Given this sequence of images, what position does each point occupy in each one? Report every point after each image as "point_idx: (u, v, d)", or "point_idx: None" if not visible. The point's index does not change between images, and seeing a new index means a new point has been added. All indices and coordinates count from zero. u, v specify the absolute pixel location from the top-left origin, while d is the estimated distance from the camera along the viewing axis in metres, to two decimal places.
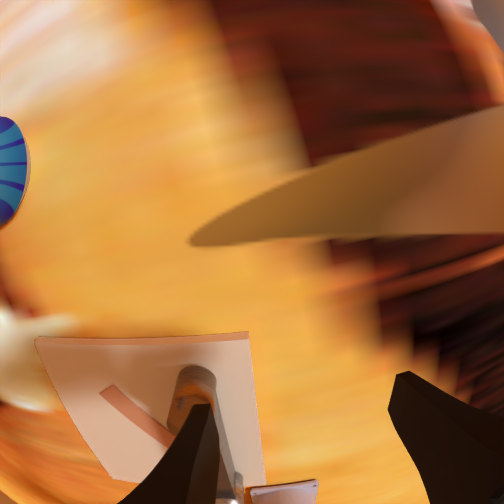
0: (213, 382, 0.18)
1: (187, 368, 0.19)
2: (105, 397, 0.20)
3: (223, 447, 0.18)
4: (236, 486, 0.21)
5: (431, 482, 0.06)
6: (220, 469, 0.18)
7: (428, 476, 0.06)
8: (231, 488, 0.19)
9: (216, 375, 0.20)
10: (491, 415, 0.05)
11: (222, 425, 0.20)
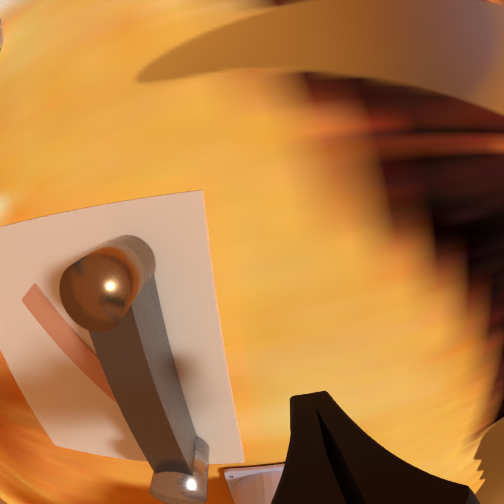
0: (147, 255, 0.13)
1: (116, 238, 0.13)
2: (27, 304, 0.14)
3: (162, 375, 0.13)
4: (195, 457, 0.15)
5: None
6: (157, 413, 0.12)
7: None
8: (181, 454, 0.13)
9: (157, 255, 0.14)
10: (396, 460, 0.05)
11: (166, 344, 0.15)
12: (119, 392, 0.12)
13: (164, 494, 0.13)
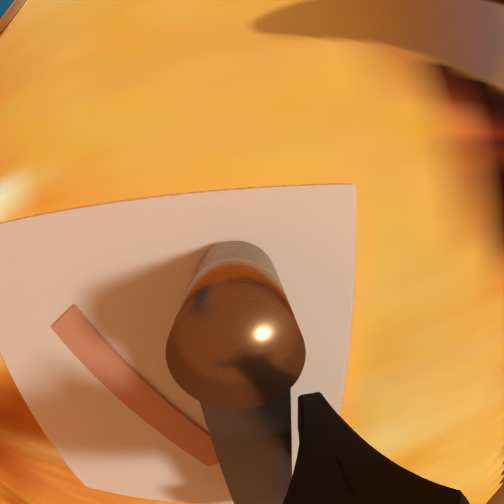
0: None
1: (218, 245, 0.09)
2: (60, 334, 0.10)
3: None
4: None
5: None
6: (280, 478, 0.08)
7: None
8: None
9: (286, 270, 0.10)
10: (388, 462, 0.05)
11: None
12: (231, 465, 0.08)
13: None
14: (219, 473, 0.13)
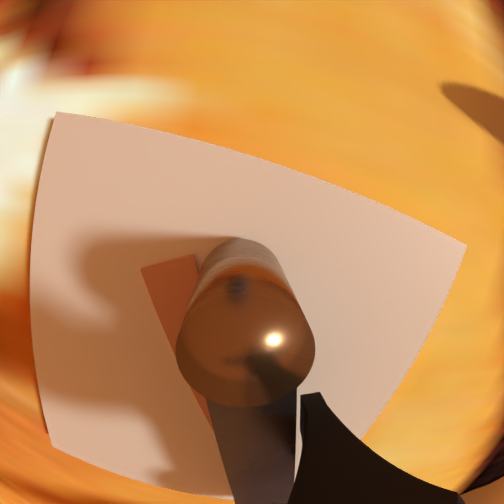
0: None
1: (225, 243, 0.09)
2: (151, 281, 0.10)
3: None
4: None
5: None
6: (282, 477, 0.08)
7: None
8: None
9: (405, 292, 0.11)
10: (385, 464, 0.05)
11: None
12: (235, 463, 0.08)
13: None
14: None
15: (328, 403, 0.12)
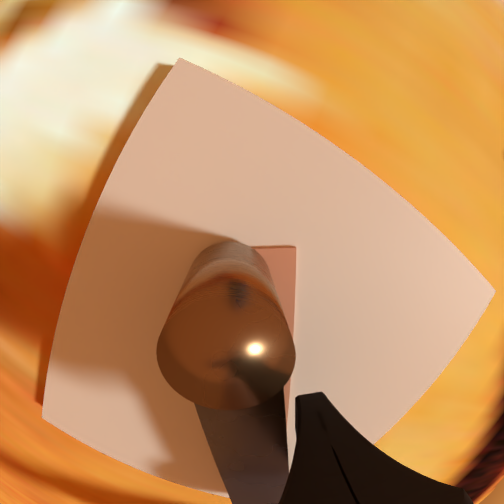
0: (269, 271, 0.09)
1: (211, 246, 0.09)
2: None
3: None
4: None
5: None
6: (277, 478, 0.08)
7: None
8: None
9: (445, 320, 0.12)
10: (391, 461, 0.05)
11: None
12: (228, 465, 0.08)
13: None
14: None
15: (357, 410, 0.13)
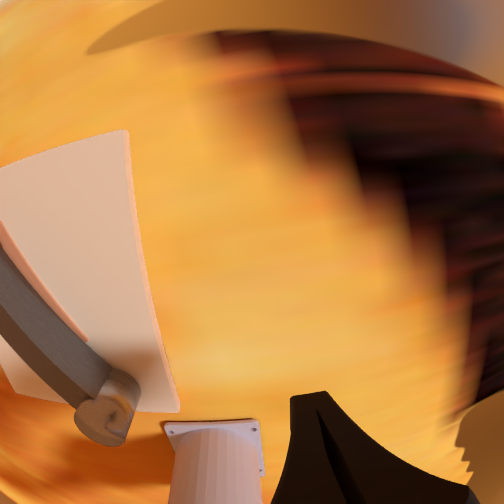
0: None
1: None
2: None
3: (19, 306, 0.14)
4: (103, 383, 0.16)
5: None
6: (21, 335, 0.13)
7: None
8: (63, 373, 0.14)
9: (88, 185, 0.15)
10: (396, 460, 0.05)
11: (27, 288, 0.16)
12: (2, 332, 0.13)
13: (90, 430, 0.14)
14: None
15: (94, 285, 0.17)
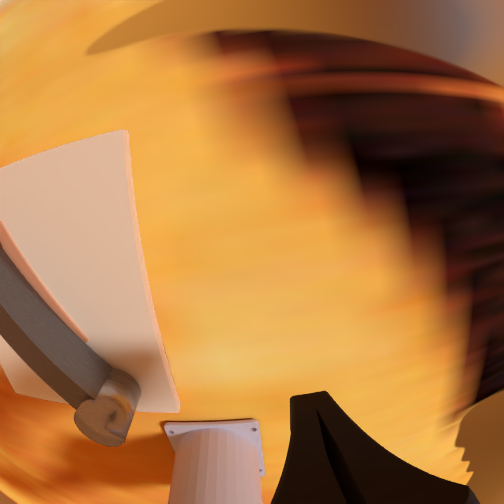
0: None
1: None
2: None
3: (19, 306, 0.14)
4: (103, 383, 0.16)
5: None
6: (21, 335, 0.13)
7: None
8: (63, 373, 0.14)
9: (88, 185, 0.15)
10: (396, 460, 0.05)
11: (27, 288, 0.16)
12: (2, 332, 0.13)
13: (90, 430, 0.14)
14: None
15: (94, 285, 0.17)
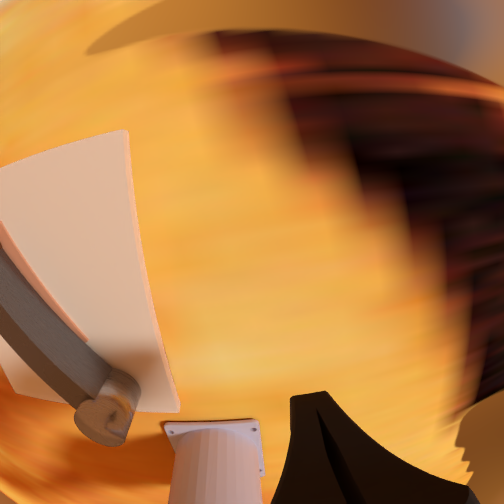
0: None
1: None
2: None
3: (19, 306, 0.14)
4: (103, 383, 0.16)
5: None
6: (21, 335, 0.13)
7: None
8: (63, 373, 0.14)
9: (88, 185, 0.15)
10: (396, 460, 0.05)
11: (27, 288, 0.16)
12: (2, 332, 0.13)
13: (90, 430, 0.14)
14: None
15: (94, 285, 0.17)
